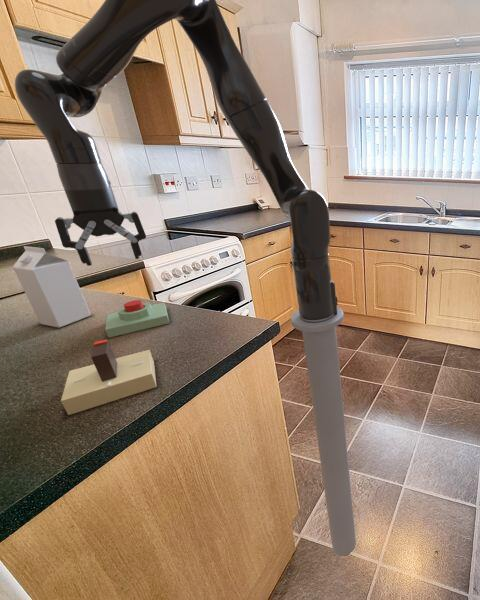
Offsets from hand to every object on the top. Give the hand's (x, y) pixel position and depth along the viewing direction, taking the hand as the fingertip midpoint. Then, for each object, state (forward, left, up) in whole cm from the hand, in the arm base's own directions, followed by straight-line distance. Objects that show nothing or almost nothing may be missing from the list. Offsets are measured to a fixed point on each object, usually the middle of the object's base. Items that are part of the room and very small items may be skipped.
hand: (114, 261), depth 77 cm
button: (-1, -1, -13) cm, 13 cm away
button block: (-1, -1, -16) cm, 16 cm away
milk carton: (+15, -14, -17) cm, 26 cm away
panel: (+3, +27, -16) cm, 32 cm away
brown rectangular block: (+3, +27, -13) cm, 30 cm away
